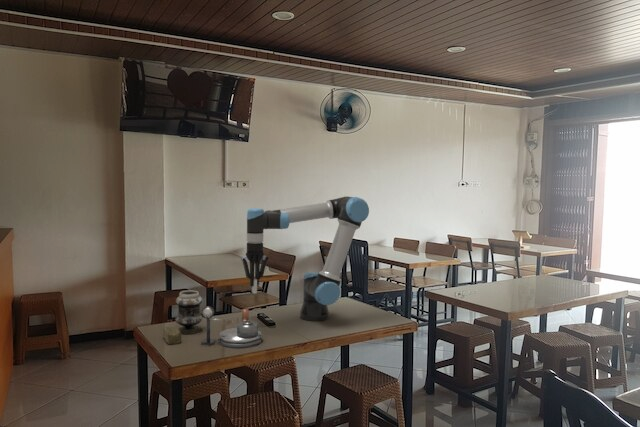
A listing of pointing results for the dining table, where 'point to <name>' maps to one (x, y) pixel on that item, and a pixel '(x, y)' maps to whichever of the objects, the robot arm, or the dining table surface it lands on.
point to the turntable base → (239, 345)
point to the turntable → (231, 333)
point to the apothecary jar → (189, 311)
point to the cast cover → (247, 329)
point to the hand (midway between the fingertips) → (254, 292)
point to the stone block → (172, 335)
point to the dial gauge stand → (208, 325)
